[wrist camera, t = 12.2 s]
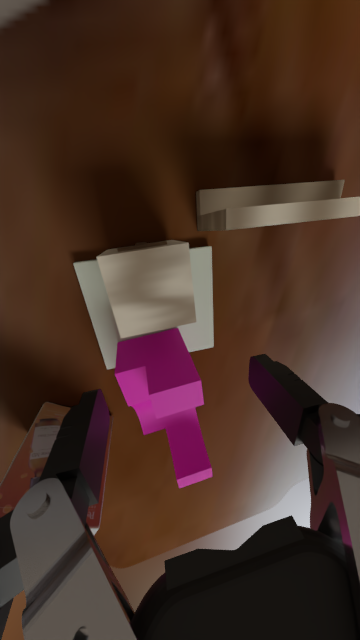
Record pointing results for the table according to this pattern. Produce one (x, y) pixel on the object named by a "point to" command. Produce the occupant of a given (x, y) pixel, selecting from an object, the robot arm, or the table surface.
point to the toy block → (166, 397)
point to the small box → (43, 462)
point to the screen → (272, 205)
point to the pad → (192, 334)
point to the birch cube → (149, 286)
